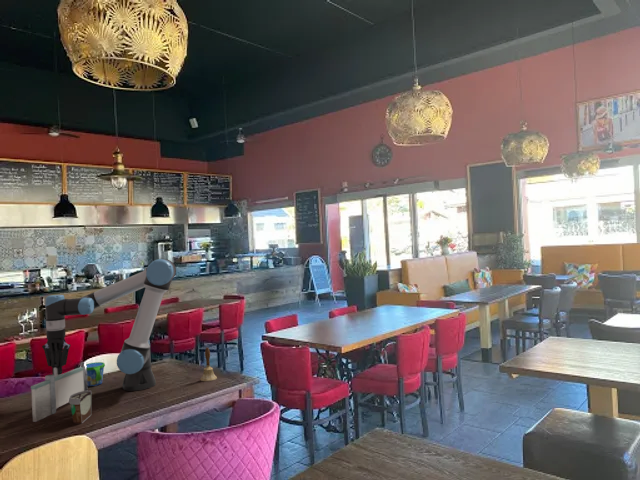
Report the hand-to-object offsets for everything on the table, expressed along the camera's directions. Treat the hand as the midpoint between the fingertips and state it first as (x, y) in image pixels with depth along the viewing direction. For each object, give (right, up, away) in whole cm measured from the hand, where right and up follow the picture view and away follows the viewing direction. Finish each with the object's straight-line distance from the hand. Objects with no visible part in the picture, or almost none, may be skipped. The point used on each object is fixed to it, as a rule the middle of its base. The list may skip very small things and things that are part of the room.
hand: (57, 381), depth 214 cm
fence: (+7, -9, -8) cm, 14 cm away
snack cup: (+4, -10, +27) cm, 29 cm away
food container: (+22, -8, -24) cm, 34 cm away
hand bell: (+62, -7, +26) cm, 68 cm away
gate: (+7, -8, -4) cm, 11 cm away
